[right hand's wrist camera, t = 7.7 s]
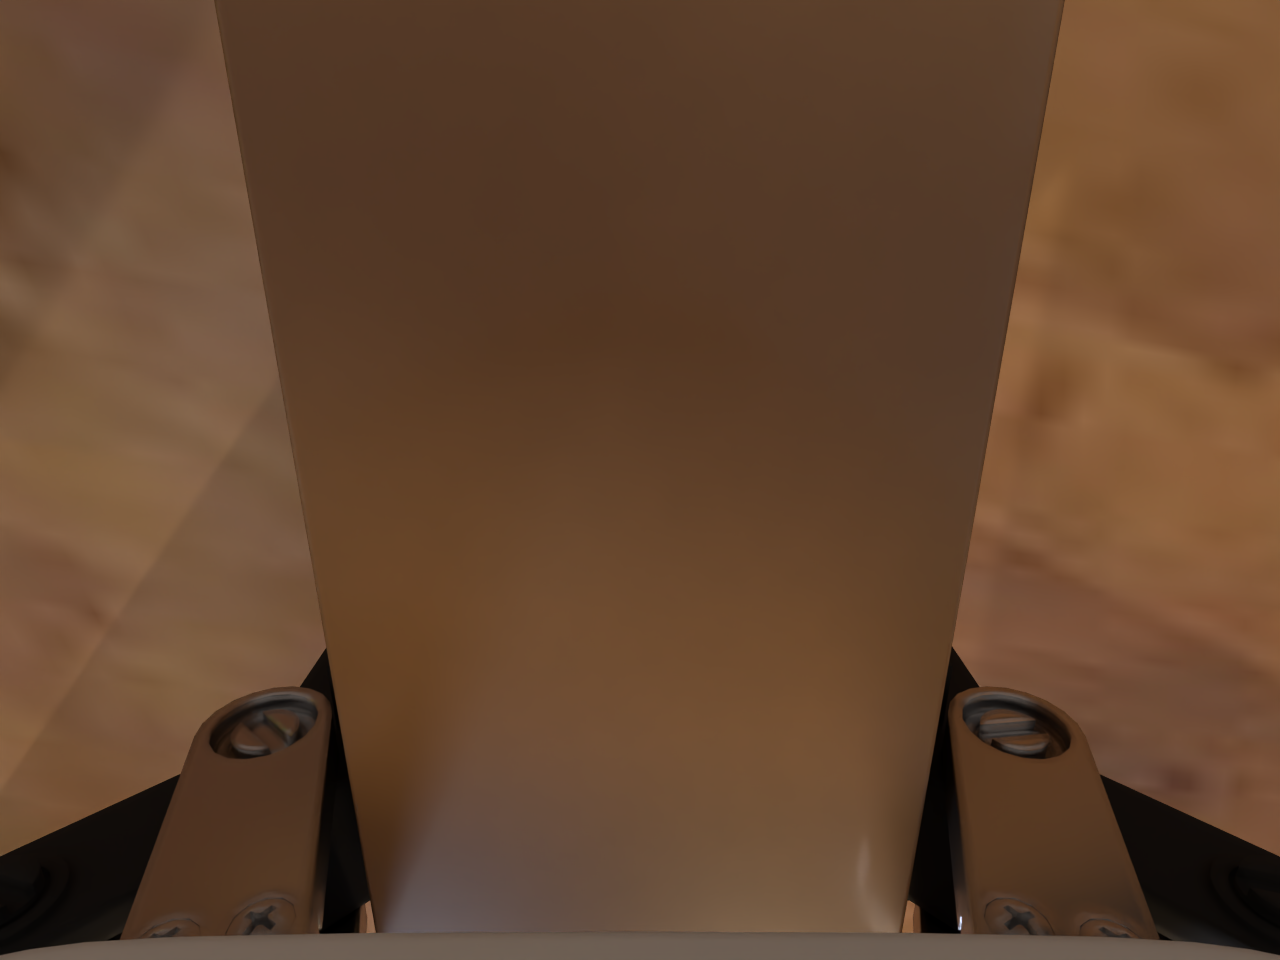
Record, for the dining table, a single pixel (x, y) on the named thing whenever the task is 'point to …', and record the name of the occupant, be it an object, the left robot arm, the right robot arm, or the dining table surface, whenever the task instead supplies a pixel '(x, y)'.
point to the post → (639, 429)
